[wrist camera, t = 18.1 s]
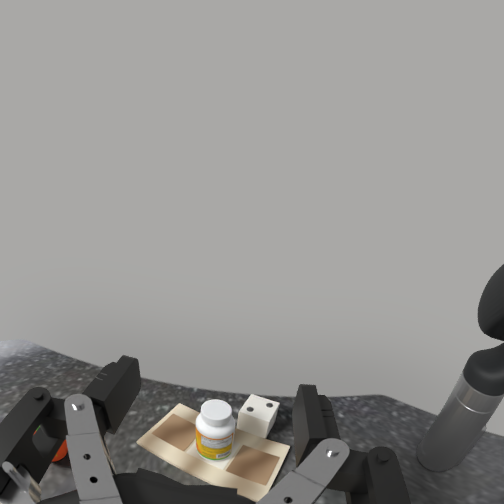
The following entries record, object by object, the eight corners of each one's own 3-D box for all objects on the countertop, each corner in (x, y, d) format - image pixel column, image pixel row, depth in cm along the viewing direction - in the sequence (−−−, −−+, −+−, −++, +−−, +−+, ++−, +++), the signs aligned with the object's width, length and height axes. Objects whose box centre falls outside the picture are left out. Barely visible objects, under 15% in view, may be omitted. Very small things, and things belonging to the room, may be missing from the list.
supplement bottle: (203, 433, 36) (203, 391, 34) (235, 442, 35) (241, 401, 33) (191, 456, 31) (189, 416, 29) (226, 466, 30) (231, 428, 28)
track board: (289, 448, 35) (290, 445, 35) (261, 503, 24) (262, 501, 24) (179, 405, 43) (179, 402, 43) (137, 443, 32) (136, 441, 32)
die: (274, 421, 42) (279, 402, 40) (264, 440, 37) (269, 421, 36) (248, 412, 43) (251, 393, 42) (236, 430, 39) (239, 411, 38)
